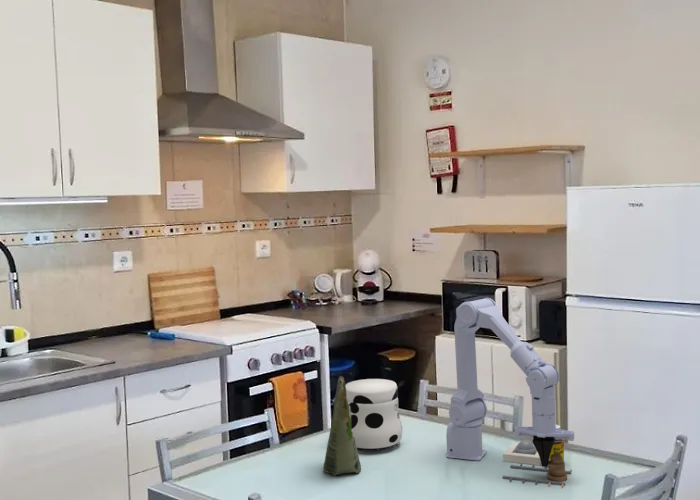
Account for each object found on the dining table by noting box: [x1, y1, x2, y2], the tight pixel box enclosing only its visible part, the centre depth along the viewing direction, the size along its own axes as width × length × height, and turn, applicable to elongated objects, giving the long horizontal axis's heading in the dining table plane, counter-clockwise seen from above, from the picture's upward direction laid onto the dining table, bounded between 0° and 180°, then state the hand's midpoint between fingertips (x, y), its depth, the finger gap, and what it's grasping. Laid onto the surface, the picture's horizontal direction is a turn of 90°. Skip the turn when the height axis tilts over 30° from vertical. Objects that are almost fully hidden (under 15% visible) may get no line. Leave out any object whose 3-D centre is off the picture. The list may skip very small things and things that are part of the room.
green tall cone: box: [322, 375, 362, 476], centre depth 215 cm, size 11×12×25 cm
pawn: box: [546, 453, 568, 482], centre depth 204 cm, size 5×5×6 cm
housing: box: [502, 442, 542, 466], centre depth 220 cm, size 10×10×2 cm
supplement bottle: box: [549, 424, 565, 462], centre depth 214 cm, size 6×6×10 cm
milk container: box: [345, 378, 403, 452], centre depth 236 cm, size 17×17×18 cm
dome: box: [516, 439, 536, 455], centre depth 220 cm, size 5×5×5 cm
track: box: [501, 463, 573, 489], centre depth 206 cm, size 16×12×1 cm
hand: (545, 465), depth 205 cm, fingers closed
